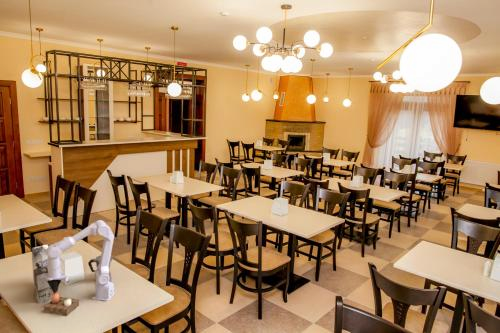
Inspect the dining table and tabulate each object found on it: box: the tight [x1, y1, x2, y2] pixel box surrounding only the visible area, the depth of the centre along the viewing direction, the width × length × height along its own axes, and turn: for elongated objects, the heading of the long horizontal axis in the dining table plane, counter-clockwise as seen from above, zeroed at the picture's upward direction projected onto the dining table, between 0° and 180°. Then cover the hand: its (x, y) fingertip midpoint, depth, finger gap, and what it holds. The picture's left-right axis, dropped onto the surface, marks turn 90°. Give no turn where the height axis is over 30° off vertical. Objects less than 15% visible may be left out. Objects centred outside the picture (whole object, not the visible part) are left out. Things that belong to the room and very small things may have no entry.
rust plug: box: [51, 291, 60, 304], centre depth 185 cm, size 3×3×5 cm
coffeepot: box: [87, 254, 115, 282], centre depth 215 cm, size 15×9×18 cm, turn 129°
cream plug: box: [64, 299, 71, 306], centre depth 184 cm, size 3×3×5 cm
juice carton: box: [31, 243, 52, 290], centre depth 202 cm, size 9×10×27 cm
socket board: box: [43, 296, 80, 317], centre depth 185 cm, size 13×10×4 cm
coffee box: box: [32, 267, 52, 304], centre depth 194 cm, size 9×6×16 cm
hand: (55, 291), depth 184 cm, fingers closed
